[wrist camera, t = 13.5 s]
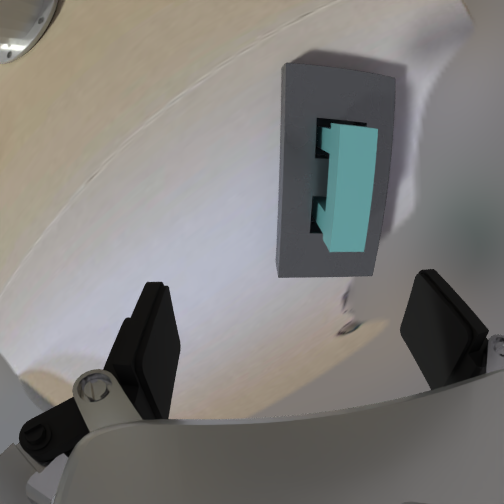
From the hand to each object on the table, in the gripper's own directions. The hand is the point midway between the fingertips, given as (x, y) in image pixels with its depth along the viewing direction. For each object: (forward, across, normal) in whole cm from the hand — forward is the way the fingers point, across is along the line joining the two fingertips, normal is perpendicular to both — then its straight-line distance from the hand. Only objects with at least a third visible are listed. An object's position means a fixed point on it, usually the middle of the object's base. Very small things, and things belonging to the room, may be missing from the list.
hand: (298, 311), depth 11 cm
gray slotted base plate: (+20, -7, -1) cm, 21 cm away
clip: (+20, -7, -1) cm, 21 cm away
